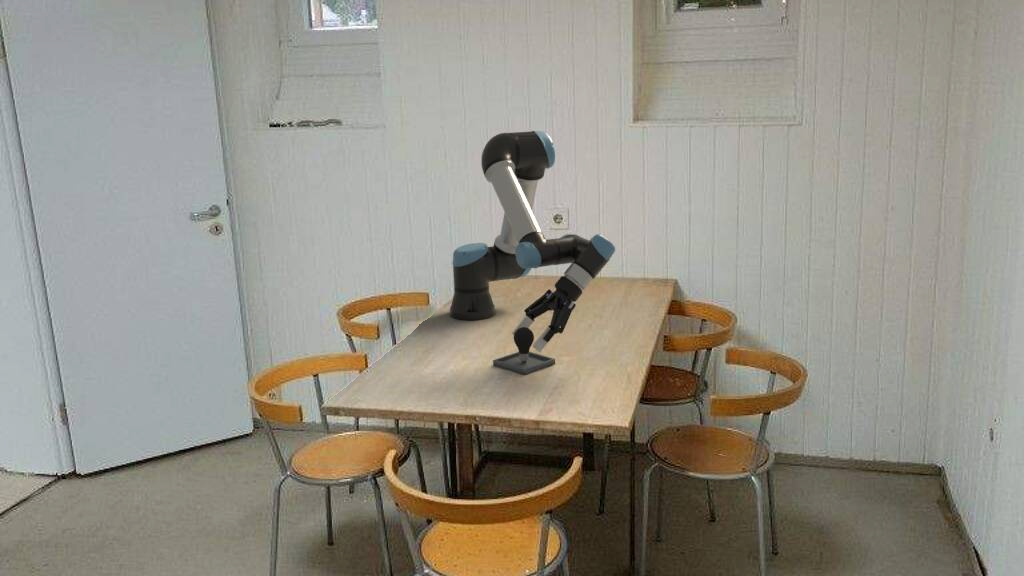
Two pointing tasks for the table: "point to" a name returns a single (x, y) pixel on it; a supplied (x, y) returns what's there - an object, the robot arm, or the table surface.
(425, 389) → the table surface
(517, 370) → the tray
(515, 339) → the light bulb
